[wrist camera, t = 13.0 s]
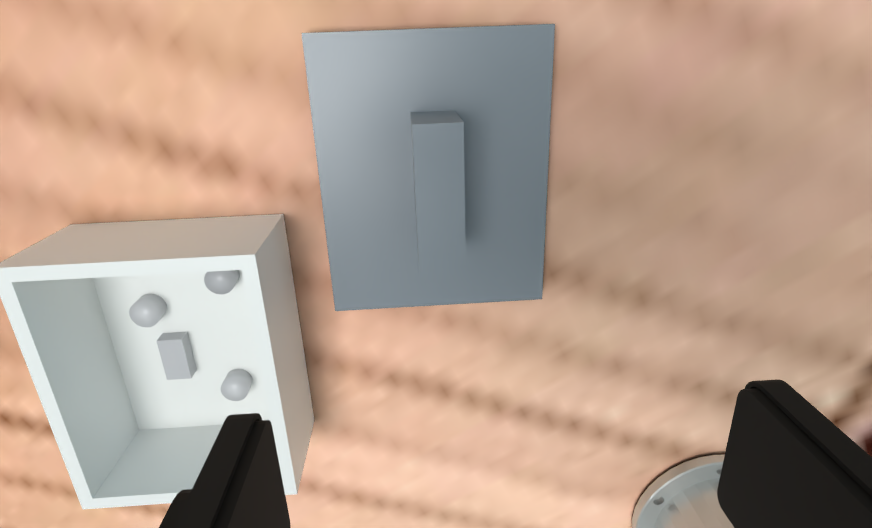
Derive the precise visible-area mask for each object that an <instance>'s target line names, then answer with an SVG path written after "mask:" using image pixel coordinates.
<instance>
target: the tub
mask: <svg viewBox="0 0 872 528" xmlns="http://www.w3.org/2000/svg"><path fill="white" fill-rule="evenodd" d="M0 297H1V300H2V302H3V305H4V307H5V310H6V313H7V315H8V318H9V320H10V323H11V326H12V328H13V331H14V333H15V336H16V338H17V341H18V344H19V346H20V349H21V351H22V354H23V357H24V359H25V362H26V364H27V367H28V369H29V372H30V375H31V377H32V380H33V382H34V385H35V388H36V390H37V393H38V395H39V398H40V400H41V403H42V406H43V408H44V411H45V413H46V416H47V419H48V421H49V424H50V426H51V429H52V431H53V434H54V437H55V439H56V442H57V444H58V447H59V450H60V452H61V455H62V457H63V460H64V462H65V465H66V468H67V470H68V473H69V475H70V478H71V481H72V483H73V486H74V488H75V491H76V493H77V496H78V499H79V501H80V504H81V506H82V509H95V508H109V507H123V506H137V505H151V504H165V503H172V501H173V500H174V498H175V496H176V495H177V493H179V492H180V491H181V490H186V489H192V488H193V486H194V484H195V482H196V480H197V478H198V475H199V473H200V471H201V469H202V467H203V465H204V463H205V461H206V459H207V457H208V455H209V453H210V450H211V448H212V446H213V444H214V442H215V440H216V438H217V436H218V434H219V432H220V430H221V427H222V425H223V423H224V421H225V419H226V418H227V416H229V415H234V414H250V413H259V414H260V415H261V417H262V420H270V422H271V424H272V428H273V434H274V439H275V444H276V450H277V455H278V460H279V466H280V471H281V476H282V481H283V487H284V492H285V495H292V494H297V493H298V489H299V485H300V480H301V476H302V472H303V468H304V463H305V459H306V455H307V450H308V446H309V442H310V438H311V433H312V429H313V425H314V414H313V407H312V401H311V394H310V387H309V381H308V374H307V367H306V361H305V354H304V347H303V341H302V334H301V327H300V321H299V314H298V307H297V301H296V294H295V287H294V281H293V274H292V267H291V261H290V254H289V247H288V241H287V234H286V227H285V221H284V214H270V215H250V216H230V217H210V218H189V219H169V220H149V221H129V222H109V223H88V224H71V225H69V226H67V227H65V228H63V229H61V230H59V231H58V232H56V233H54V234H52V235H50V236H48V237H47V238H45V239H43V240H41V241H39V242H37V243H35V244H34V245H32V246H30V247H28V248H26V249H24V250H22V251H21V252H19V253H17V254H15V255H13V256H11V257H10V258H8V259H6V260H4V261H2V262H0Z"/></svg>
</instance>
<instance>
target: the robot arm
mask: <svg viewBox="0 0 872 528" xmlns="http://www.w3.org/2000/svg"><path fill="white" fill-rule="evenodd" d="M159 528H290V519H289V513H288V508H287V503H286V497H285V492H284V487H283V481H282V476H281V471H280V466H279V460H278V455H277V450H276V444H275V439H274V434H273V428H272V424H271V422H270V420H262V417H261V415H260V414H259V413H250V414H234V415H229V416H227V418H226V419H225V421H224V423H223V425H222V427H221V430H220V432H219V434H218V436H217V438H216V440H215V442H214V444H213V446H212V448H211V450H210V453H209V455H208V457H207V459H206V461H205V463H204V465H203V467H202V469H201V471H200V473H199V475H198V478H197V480H196V482H195V484H194V486H193V488H192V489H186V490H181V491H180V492H179V493H177V495H176V496H175V498H174V500H173V501H172V503H171V505H170V507H169V509H168V511H167V513H166V515H165V517H164V519H163V521H162V523H161V525H160V527H159ZM632 528H872V457H871V456H869V455H868V454H867V453H866V452H865V451H864V450H863V449H861V448H860V447H859V446H858V445H857V444H856V443H855V442H853V441H852V440H851V439H850V438H849V437H848V436H847V435H845V434H844V433H843V432H842V431H841V430H840V429H839V428H837V427H836V426H835V425H834V424H833V423H832V422H831V421H830V420H828V419H827V418H826V417H825V416H824V415H823V414H822V413H820V412H819V411H818V410H817V409H816V408H815V407H814V406H812V405H811V404H810V403H809V402H808V401H807V400H806V399H804V398H803V397H802V396H801V395H800V394H799V393H798V392H796V391H795V390H794V389H793V388H792V387H791V386H790V385H788V384H787V383H786V382H784V381H783V380H764V381H752V382H749V383H748V384H747V385H746V387H745V389H743V390H741V391H740V392H739V394H738V397H737V401H736V406H735V411H734V415H733V420H732V424H731V429H730V433H729V438H728V443H727V447H726V452H725V455H710V456H705V457H699V458H696V459H693V460H690V461H687V462H684V463H682V464H680V465H678V466H676V467H674V468H672V469H670V470H669V471H667V472H666V473H664V474H663V475H661V476H660V477H658V478H657V479H656V480H655V481H654V482H653V483H652V484H651V485H650V486H649V487H648V488H647V489H646V491H645V492H644V493H643V494H642V496H641V497H640V499H639V501H638V503H637V505H636V507H635V509H634V513H633V517H632Z"/></svg>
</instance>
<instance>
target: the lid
mask: <svg viewBox="0 0 872 528" xmlns="http://www.w3.org/2000/svg"><path fill="white" fill-rule="evenodd" d="M554 30H555V24H538V25H511V26H484V27H457V28H429V29H402V30H375V31H348V32H320V33H302V40H303V49H304V57H305V65H306V73H307V82H308V90H309V98H310V106H311V115H312V123H313V131H314V139H315V148H316V156H317V164H318V172H319V181H320V189H321V197H322V205H323V214H324V222H325V230H326V238H327V247H328V255H329V263H330V272H331V280H332V288H333V296H334V305H335V311H345V310H362V309H379V308H396V307H414V306H431V305H448V304H466V303H483V302H500V301H518V300H535V299H542V289H543V267H544V246H545V224H546V203H547V181H548V160H549V138H550V117H551V95H552V73H553V52H554Z"/></svg>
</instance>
